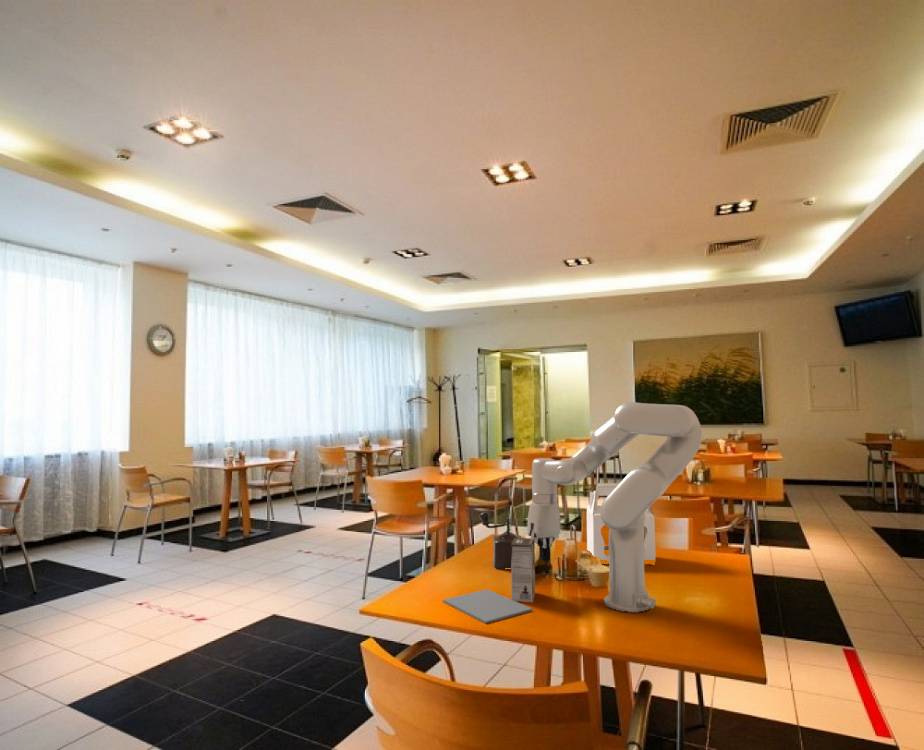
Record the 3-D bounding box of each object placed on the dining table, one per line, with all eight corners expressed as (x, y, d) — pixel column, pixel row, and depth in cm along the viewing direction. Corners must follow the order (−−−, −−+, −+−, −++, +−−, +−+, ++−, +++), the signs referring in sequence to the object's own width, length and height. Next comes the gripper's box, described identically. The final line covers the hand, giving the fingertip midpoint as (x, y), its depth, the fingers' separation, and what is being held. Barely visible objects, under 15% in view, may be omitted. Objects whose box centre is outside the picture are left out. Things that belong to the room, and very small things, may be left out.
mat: (532, 610, 149) (532, 608, 149) (485, 623, 140) (485, 621, 140) (487, 591, 165) (487, 589, 165) (442, 601, 156) (442, 599, 156)
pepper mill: (521, 560, 200) (520, 510, 201) (525, 569, 189) (524, 516, 190) (478, 560, 200) (478, 510, 201) (480, 569, 188) (480, 516, 190)
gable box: (593, 564, 195) (591, 485, 197) (586, 555, 208) (585, 480, 210) (656, 565, 194) (654, 485, 196) (645, 555, 207) (644, 481, 209)
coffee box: (514, 591, 166) (513, 537, 167) (535, 592, 164) (535, 538, 165) (511, 601, 157) (510, 544, 158) (533, 602, 155) (533, 545, 156)
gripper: (553, 495, 175) (554, 554, 174) (517, 499, 166) (518, 561, 165) (570, 498, 169) (571, 559, 167) (534, 503, 160) (534, 567, 159)
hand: (544, 560), depth 166 cm, fingers closed
